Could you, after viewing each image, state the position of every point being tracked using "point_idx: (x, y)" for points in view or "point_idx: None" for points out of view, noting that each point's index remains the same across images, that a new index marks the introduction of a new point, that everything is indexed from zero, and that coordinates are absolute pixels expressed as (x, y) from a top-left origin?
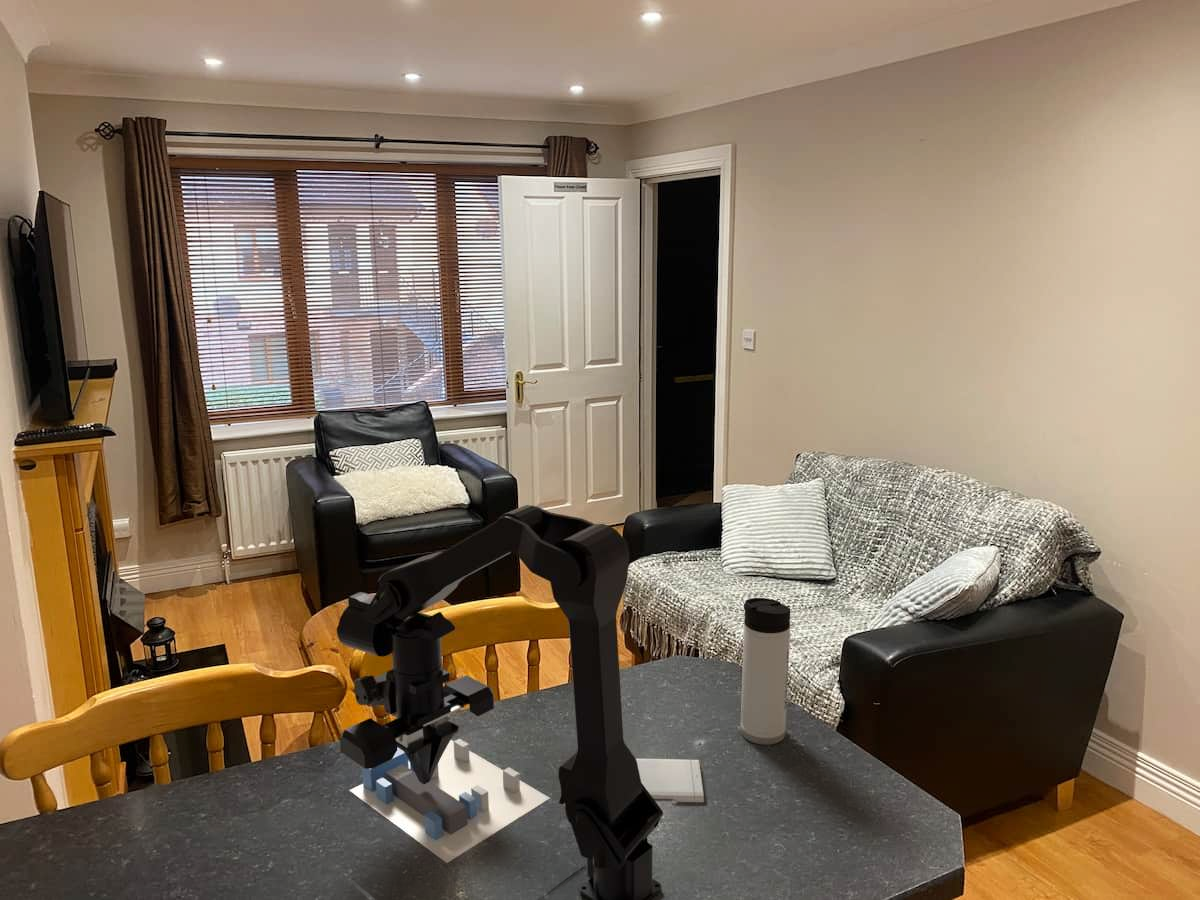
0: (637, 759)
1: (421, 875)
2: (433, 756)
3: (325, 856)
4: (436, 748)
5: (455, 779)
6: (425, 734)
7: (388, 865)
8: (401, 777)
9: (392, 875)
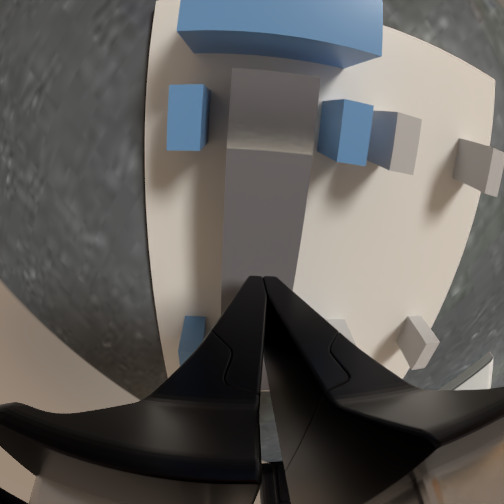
0: (489, 379)
1: (125, 367)
2: (278, 431)
3: (9, 203)
4: (288, 475)
5: (394, 211)
6: (324, 477)
7: (88, 315)
8: (252, 149)
9: (86, 336)
